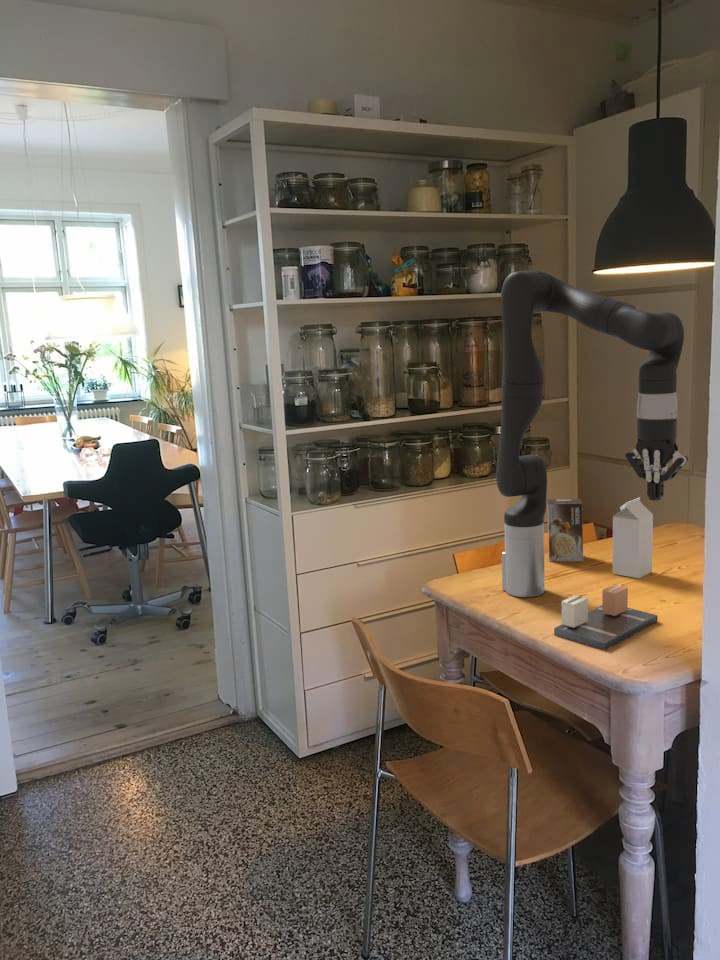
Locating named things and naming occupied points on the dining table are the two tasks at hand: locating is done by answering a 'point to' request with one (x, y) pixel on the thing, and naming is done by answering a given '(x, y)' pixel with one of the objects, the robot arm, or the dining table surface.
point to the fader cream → (574, 611)
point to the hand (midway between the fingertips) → (655, 499)
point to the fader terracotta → (615, 600)
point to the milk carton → (632, 540)
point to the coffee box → (565, 530)
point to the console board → (607, 627)
